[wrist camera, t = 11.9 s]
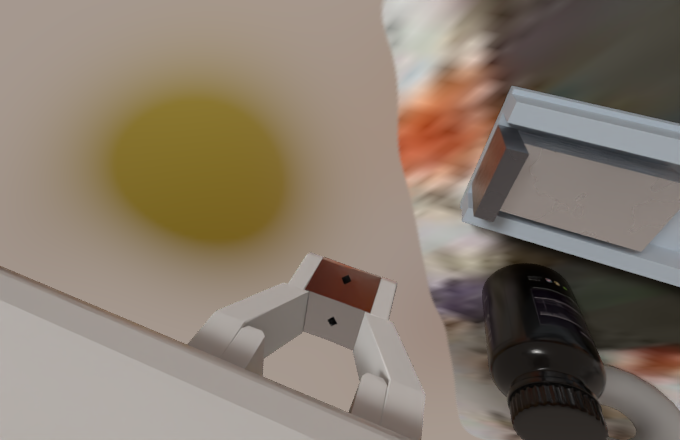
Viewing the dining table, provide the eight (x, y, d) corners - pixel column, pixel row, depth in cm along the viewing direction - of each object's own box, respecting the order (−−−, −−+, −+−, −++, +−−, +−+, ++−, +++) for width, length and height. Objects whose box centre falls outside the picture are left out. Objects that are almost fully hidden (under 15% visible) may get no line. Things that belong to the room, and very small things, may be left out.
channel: (932, 181, 18) (1023, 212, 15) (778, 295, 23) (823, 334, 20) (511, 85, 21) (519, 96, 18) (460, 202, 26) (460, 224, 23)
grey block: (670, 166, 20) (720, 203, 16) (621, 226, 22) (655, 270, 18) (498, 124, 21) (506, 148, 18) (471, 184, 24) (473, 216, 20)
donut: (529, 373, 33) (550, 488, 25) (528, 350, 32) (550, 464, 24) (656, 385, 29) (729, 525, 21) (662, 359, 28) (743, 499, 20)
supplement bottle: (535, 330, 30) (570, 477, 21) (467, 297, 31) (469, 426, 21) (591, 283, 26) (666, 438, 17) (511, 246, 27) (539, 377, 17)
